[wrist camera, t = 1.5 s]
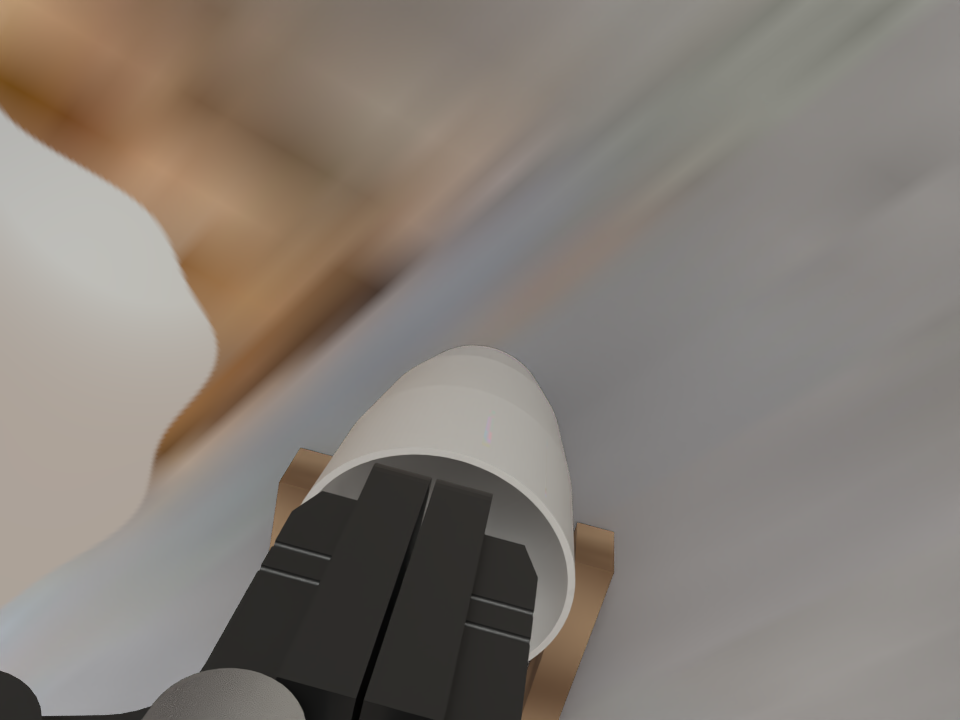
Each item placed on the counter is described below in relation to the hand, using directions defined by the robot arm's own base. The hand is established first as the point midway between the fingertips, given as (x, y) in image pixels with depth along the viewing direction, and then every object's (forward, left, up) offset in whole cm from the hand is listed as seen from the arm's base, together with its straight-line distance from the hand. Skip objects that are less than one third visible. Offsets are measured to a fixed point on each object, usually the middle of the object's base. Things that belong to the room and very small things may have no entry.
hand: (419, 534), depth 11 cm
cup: (+9, 0, -21) cm, 23 cm away
